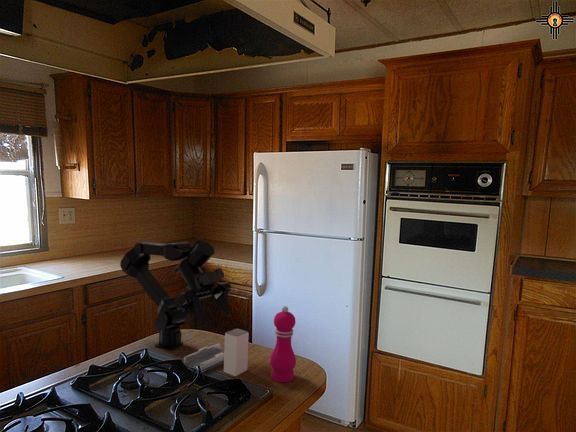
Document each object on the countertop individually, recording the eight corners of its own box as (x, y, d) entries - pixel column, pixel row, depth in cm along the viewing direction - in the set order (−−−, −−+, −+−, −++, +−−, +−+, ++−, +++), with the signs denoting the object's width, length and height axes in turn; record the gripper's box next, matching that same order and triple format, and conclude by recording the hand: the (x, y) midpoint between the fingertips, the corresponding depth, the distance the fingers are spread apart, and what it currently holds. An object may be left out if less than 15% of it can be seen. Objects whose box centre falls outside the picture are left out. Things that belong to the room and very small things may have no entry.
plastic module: (223, 371, 111) (224, 332, 110) (235, 365, 115) (236, 327, 115) (235, 376, 108) (236, 336, 108) (247, 370, 113) (248, 331, 112)
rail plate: (183, 365, 114) (183, 355, 114) (217, 350, 125) (218, 341, 125) (202, 373, 109) (202, 362, 109) (236, 357, 121) (236, 347, 121)
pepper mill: (298, 381, 107) (302, 309, 106) (273, 384, 104) (276, 310, 103) (290, 370, 113) (293, 302, 112) (266, 372, 111) (269, 303, 110)
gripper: (182, 263, 110) (208, 310, 104) (228, 256, 125) (254, 297, 119) (163, 286, 115) (187, 332, 109) (210, 277, 130) (233, 317, 124)
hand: (217, 318), depth 115 cm, fingers open, 9 cm apart
